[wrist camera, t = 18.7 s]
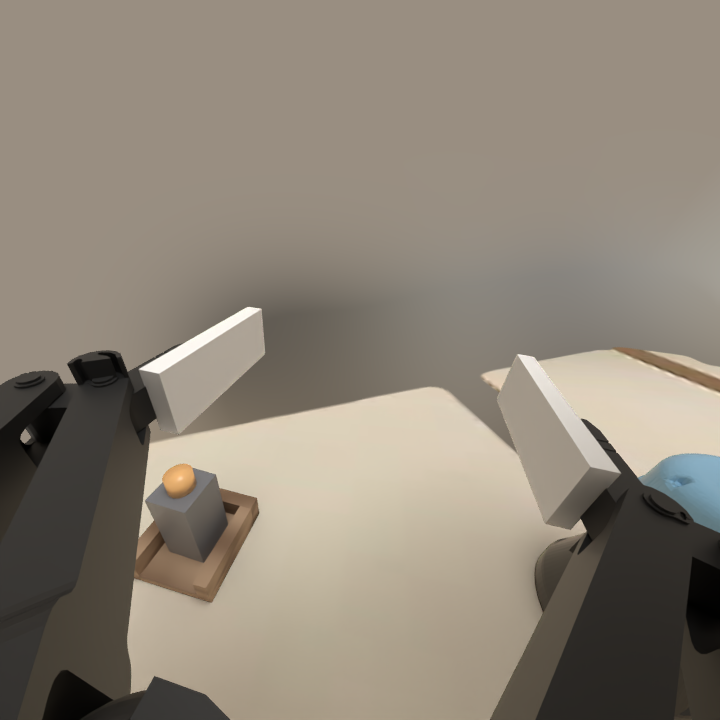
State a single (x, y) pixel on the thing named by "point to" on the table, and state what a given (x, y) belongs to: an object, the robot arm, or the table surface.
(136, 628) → the table surface
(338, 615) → the table surface
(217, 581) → the holder
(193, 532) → the connector plug
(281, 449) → the table surface
